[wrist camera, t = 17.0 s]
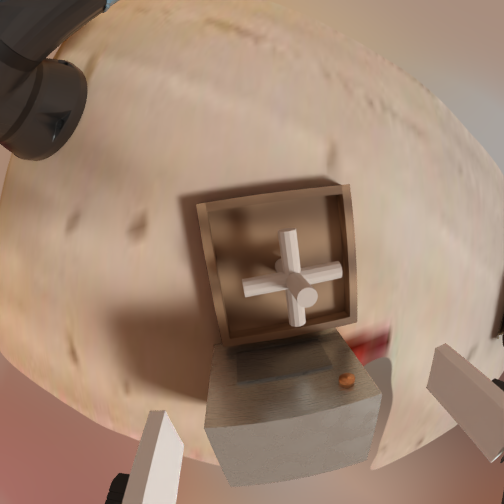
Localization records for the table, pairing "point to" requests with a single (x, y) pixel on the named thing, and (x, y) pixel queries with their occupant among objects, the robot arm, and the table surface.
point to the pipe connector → (293, 278)
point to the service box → (289, 408)
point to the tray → (268, 252)
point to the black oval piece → (502, 329)
